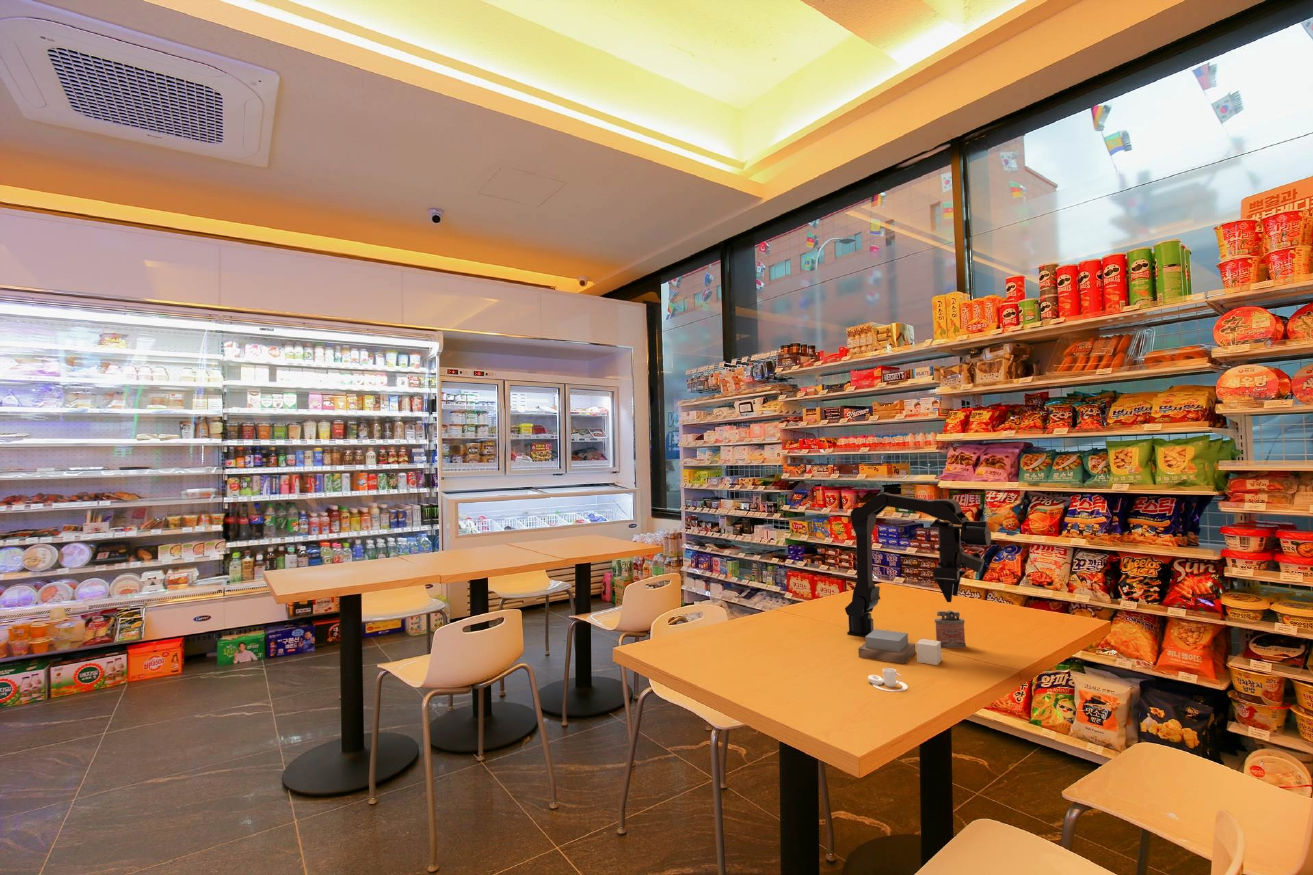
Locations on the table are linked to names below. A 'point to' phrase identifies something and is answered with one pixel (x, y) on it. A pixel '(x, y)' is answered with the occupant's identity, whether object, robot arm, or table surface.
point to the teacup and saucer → (887, 680)
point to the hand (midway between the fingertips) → (952, 598)
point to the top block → (887, 640)
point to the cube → (929, 651)
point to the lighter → (950, 629)
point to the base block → (888, 654)
